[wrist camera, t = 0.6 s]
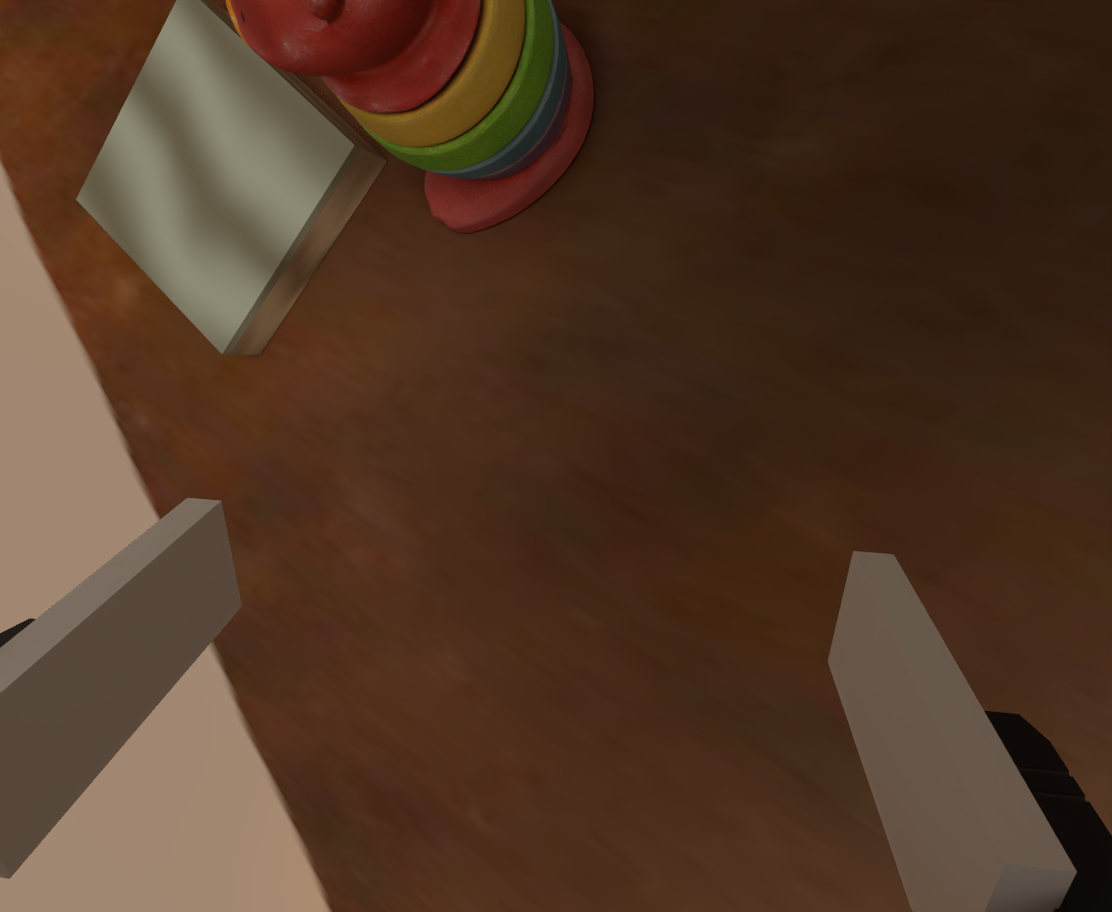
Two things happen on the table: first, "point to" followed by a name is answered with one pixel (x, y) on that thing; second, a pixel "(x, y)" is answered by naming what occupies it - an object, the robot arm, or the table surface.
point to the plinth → (226, 179)
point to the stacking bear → (444, 89)
